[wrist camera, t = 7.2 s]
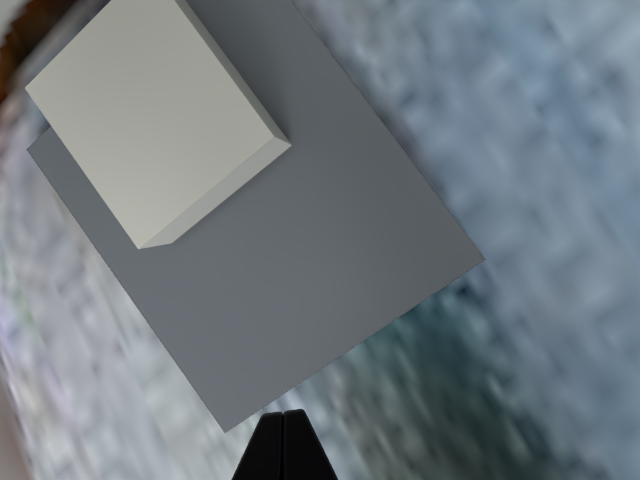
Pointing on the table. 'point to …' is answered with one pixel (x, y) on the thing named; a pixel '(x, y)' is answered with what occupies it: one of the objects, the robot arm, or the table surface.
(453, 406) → the table surface
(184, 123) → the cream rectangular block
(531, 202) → the table surface
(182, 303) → the mat
